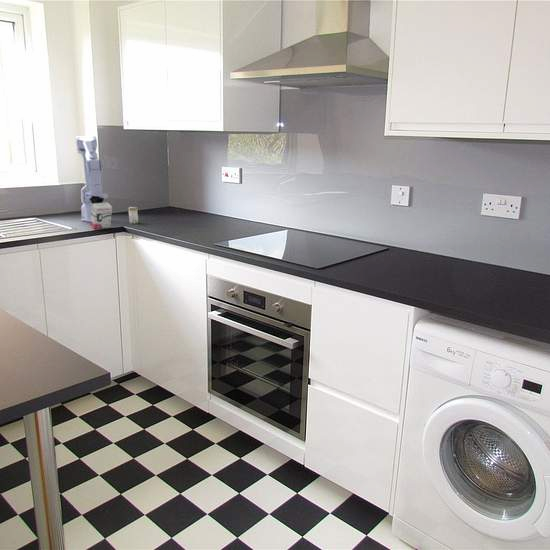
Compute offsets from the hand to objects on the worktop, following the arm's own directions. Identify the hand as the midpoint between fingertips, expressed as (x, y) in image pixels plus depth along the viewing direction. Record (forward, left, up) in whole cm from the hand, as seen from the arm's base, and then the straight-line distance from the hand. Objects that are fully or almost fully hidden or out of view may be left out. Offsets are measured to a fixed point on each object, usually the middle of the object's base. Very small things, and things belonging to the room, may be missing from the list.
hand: (97, 211), depth 263 cm
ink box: (+1, 0, -7) cm, 7 cm away
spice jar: (+3, +20, -8) cm, 22 cm away
